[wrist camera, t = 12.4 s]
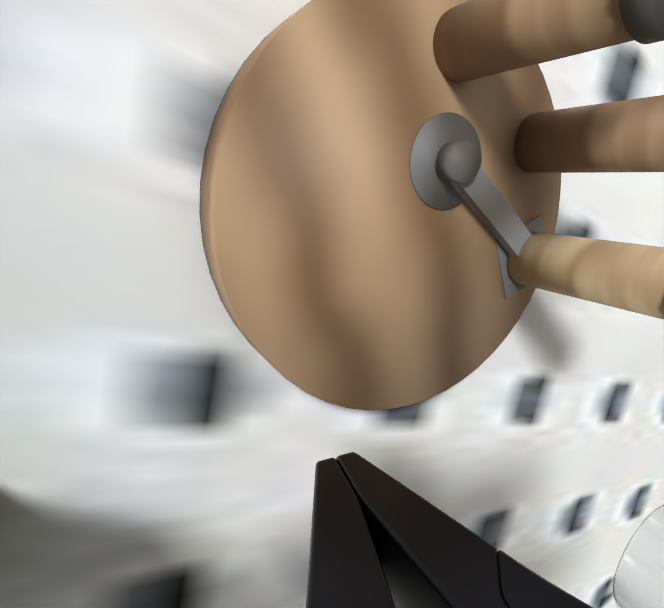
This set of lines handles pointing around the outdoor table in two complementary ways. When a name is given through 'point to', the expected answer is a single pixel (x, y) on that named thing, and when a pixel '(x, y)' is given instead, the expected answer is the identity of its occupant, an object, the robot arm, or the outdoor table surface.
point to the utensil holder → (643, 566)
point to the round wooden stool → (401, 181)
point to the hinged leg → (557, 246)
